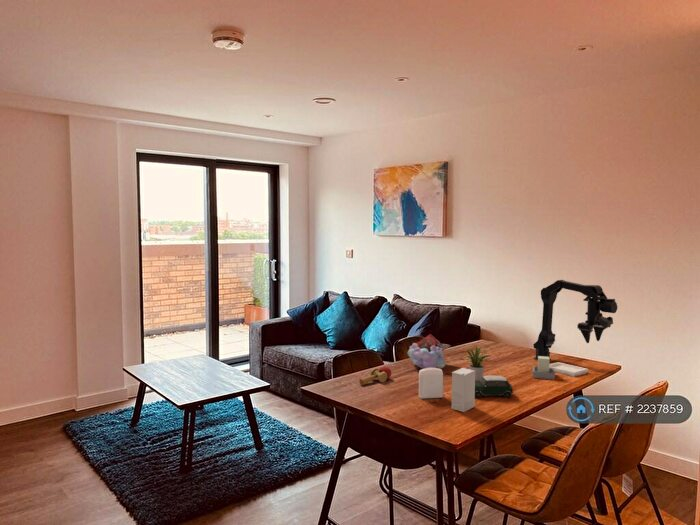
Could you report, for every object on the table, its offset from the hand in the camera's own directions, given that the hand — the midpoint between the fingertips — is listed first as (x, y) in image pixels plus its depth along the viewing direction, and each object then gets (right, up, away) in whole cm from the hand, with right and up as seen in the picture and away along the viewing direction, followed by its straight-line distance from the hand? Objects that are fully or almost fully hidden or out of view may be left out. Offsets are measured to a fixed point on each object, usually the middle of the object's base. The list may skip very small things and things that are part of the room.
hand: (592, 342), depth 251 cm
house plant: (-62, -16, -15) cm, 66 cm away
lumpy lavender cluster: (-81, -14, +9) cm, 82 cm away
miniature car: (-61, -17, -37) cm, 74 cm away
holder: (-28, -15, -8) cm, 33 cm away
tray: (-13, -15, +1) cm, 20 cm away
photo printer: (-87, -17, -40) cm, 97 cm away
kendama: (-109, -16, -18) cm, 111 cm away
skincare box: (-76, -18, -54) cm, 95 cm away
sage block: (-28, -15, -8) cm, 33 cm away
